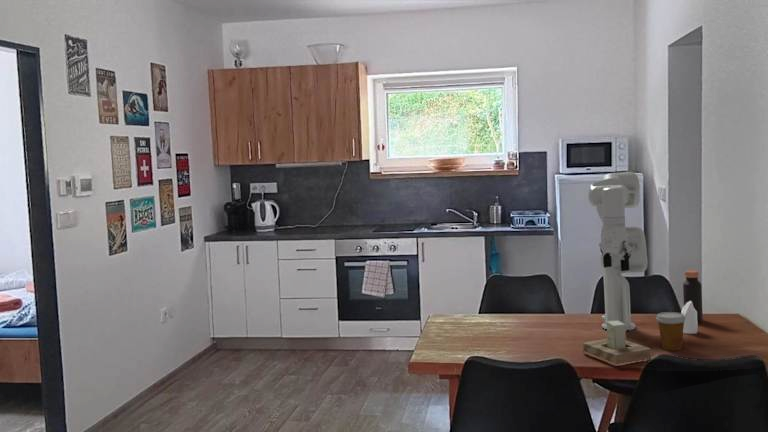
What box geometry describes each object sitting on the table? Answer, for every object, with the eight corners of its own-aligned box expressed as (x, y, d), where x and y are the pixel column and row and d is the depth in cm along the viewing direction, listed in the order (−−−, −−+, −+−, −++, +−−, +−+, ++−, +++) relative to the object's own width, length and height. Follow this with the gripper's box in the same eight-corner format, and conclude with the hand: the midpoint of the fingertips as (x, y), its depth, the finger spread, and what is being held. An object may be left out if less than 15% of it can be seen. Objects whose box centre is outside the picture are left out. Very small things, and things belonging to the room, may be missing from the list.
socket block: (583, 354, 254) (583, 343, 254) (616, 347, 259) (616, 336, 258) (616, 367, 237) (615, 355, 237) (650, 360, 242) (650, 348, 241)
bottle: (680, 320, 290) (678, 271, 288) (693, 317, 292) (691, 269, 291) (693, 323, 283) (692, 273, 282) (706, 320, 286) (704, 271, 284)
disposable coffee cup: (683, 353, 247) (682, 318, 246) (654, 350, 252) (653, 317, 251) (688, 345, 255) (687, 312, 254) (660, 343, 260) (659, 311, 259)
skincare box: (607, 355, 251) (605, 321, 250) (619, 354, 251) (617, 320, 250) (614, 360, 244) (613, 325, 243) (627, 359, 245) (625, 324, 244)
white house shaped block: (676, 300, 273) (689, 298, 275) (678, 331, 274) (690, 329, 276) (688, 303, 268) (700, 301, 269) (689, 334, 269) (701, 332, 270)
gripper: (590, 221, 264) (592, 267, 266) (621, 224, 248) (623, 273, 250) (607, 219, 267) (609, 264, 268) (638, 222, 251) (640, 270, 252)
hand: (616, 268), depth 259 cm, fingers open, 9 cm apart
